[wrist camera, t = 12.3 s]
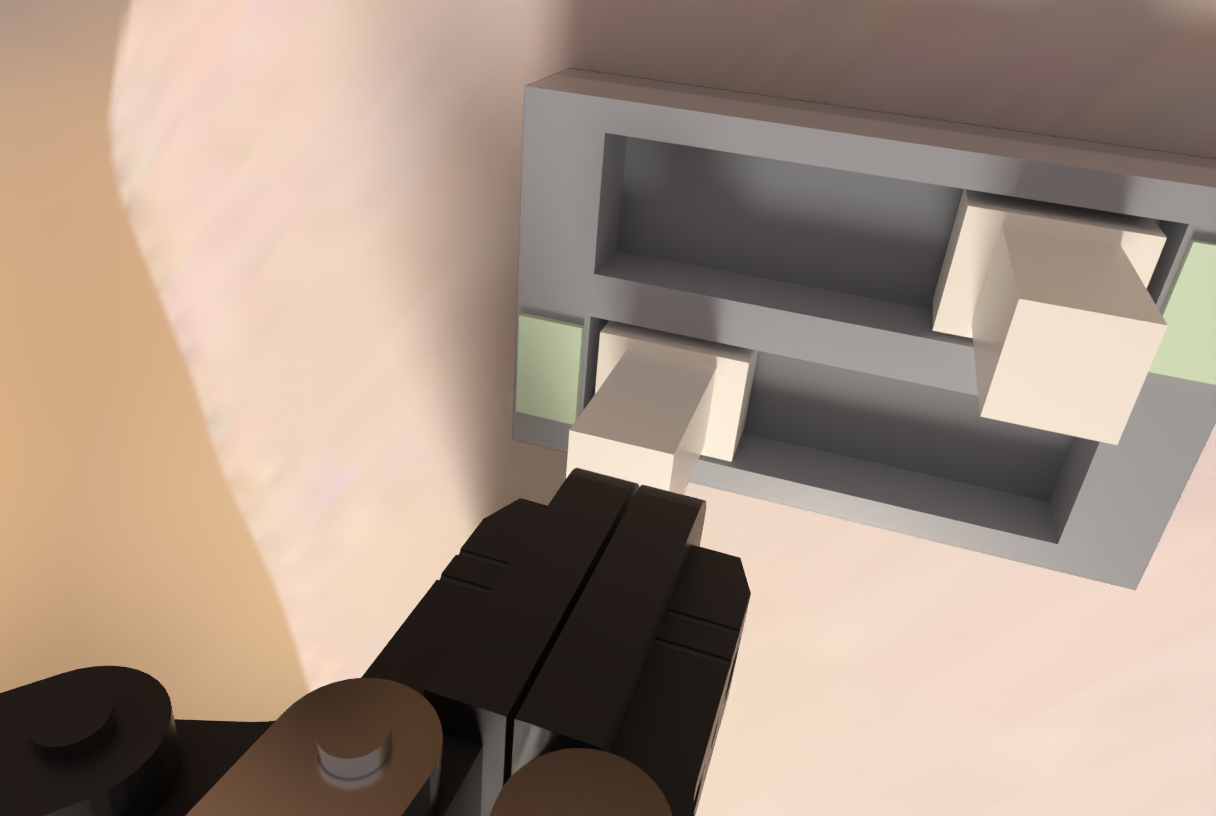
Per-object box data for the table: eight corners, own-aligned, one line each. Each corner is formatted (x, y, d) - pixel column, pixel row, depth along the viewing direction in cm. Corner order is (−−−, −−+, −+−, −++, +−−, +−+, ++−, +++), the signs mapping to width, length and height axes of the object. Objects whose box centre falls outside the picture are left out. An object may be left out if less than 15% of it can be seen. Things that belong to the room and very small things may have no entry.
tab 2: (1147, 212, 21) (1227, 318, 15) (1102, 332, 22) (1158, 468, 17) (965, 184, 22) (976, 273, 16) (932, 301, 23) (932, 421, 17)
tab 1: (761, 333, 25) (712, 451, 19) (744, 427, 26) (694, 562, 21) (622, 305, 26) (536, 410, 20) (613, 397, 27) (531, 519, 22)
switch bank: (1270, 166, 21) (1324, 206, 18) (1114, 520, 26) (1137, 595, 23) (569, 68, 25) (521, 87, 22) (550, 392, 29) (509, 442, 27)
